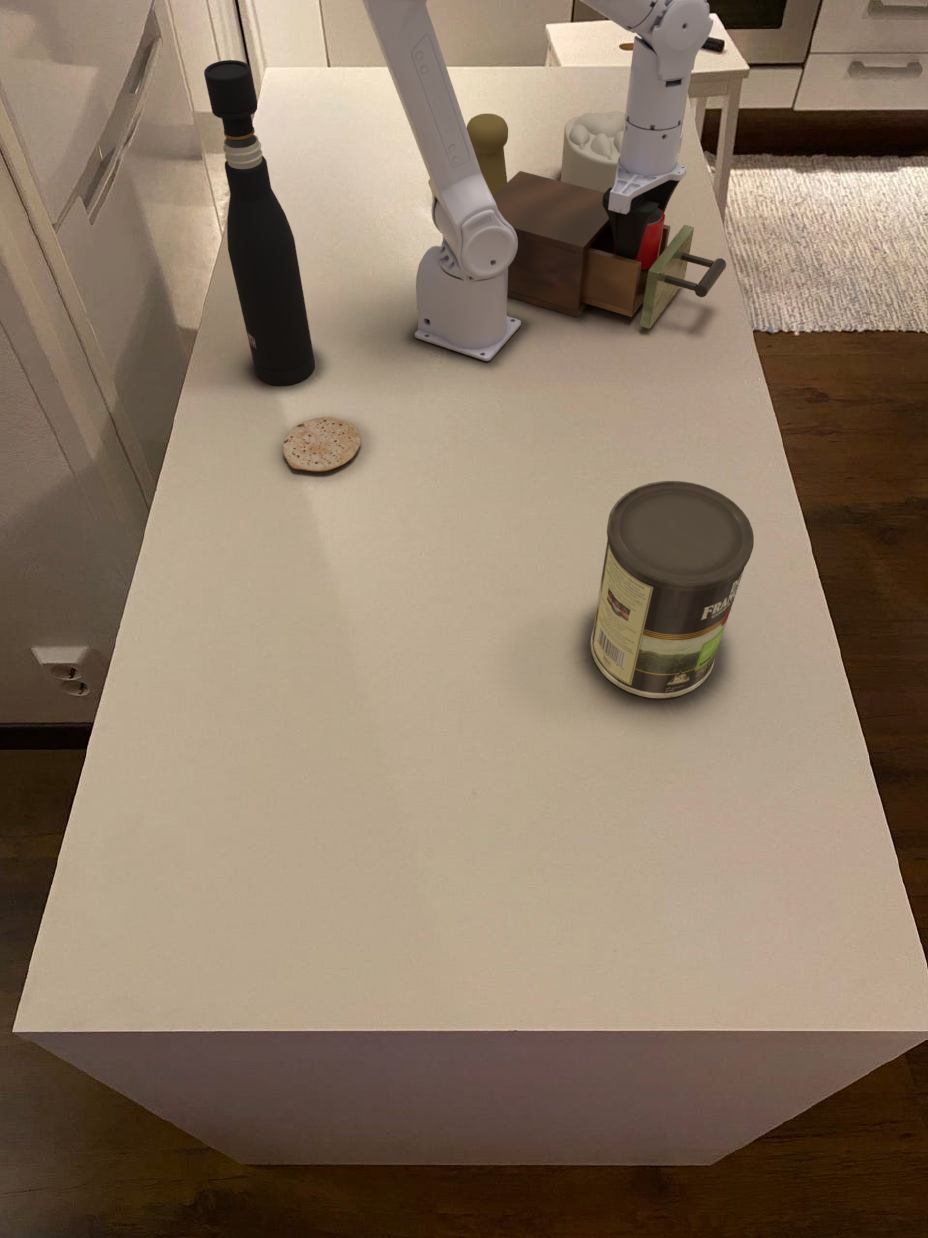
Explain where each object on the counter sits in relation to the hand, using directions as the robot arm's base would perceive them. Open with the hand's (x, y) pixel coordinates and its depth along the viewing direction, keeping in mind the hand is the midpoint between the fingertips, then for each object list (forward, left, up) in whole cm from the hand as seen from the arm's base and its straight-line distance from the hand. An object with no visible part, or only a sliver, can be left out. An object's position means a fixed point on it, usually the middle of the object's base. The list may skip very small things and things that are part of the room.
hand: (635, 245), depth 104 cm
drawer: (+1, 0, -6) cm, 6 cm away
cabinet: (-11, 0, -7) cm, 13 cm away
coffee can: (+21, -45, -7) cm, 50 cm away
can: (0, 0, -1) cm, 1 cm away
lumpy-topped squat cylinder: (-13, +21, -7) cm, 25 cm away
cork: (-25, +11, -7) cm, 28 cm away
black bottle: (-28, -29, -7) cm, 41 cm away
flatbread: (-17, -38, -7) cm, 42 cm away
